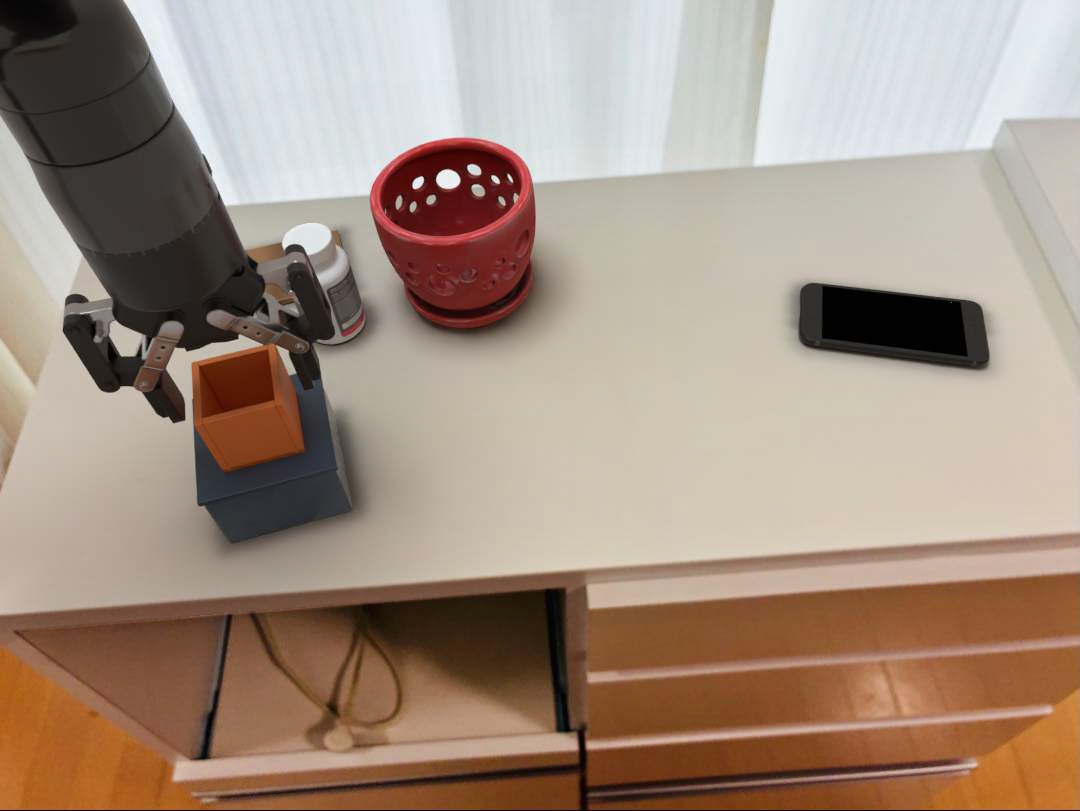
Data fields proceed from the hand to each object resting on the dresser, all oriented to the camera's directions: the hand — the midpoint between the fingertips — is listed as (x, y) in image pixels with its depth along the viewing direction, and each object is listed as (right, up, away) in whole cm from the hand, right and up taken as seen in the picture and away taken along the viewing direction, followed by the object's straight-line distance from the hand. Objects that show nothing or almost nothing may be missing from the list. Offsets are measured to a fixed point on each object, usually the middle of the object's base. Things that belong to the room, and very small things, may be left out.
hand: (245, 396), depth 55 cm
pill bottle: (+2, +6, +18) cm, 19 cm away
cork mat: (-4, +12, +22) cm, 25 cm away
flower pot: (+13, +9, +20) cm, 26 cm away
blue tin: (0, -6, +8) cm, 10 cm away
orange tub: (0, -3, +3) cm, 4 cm away
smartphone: (+49, +6, +15) cm, 52 cm away
